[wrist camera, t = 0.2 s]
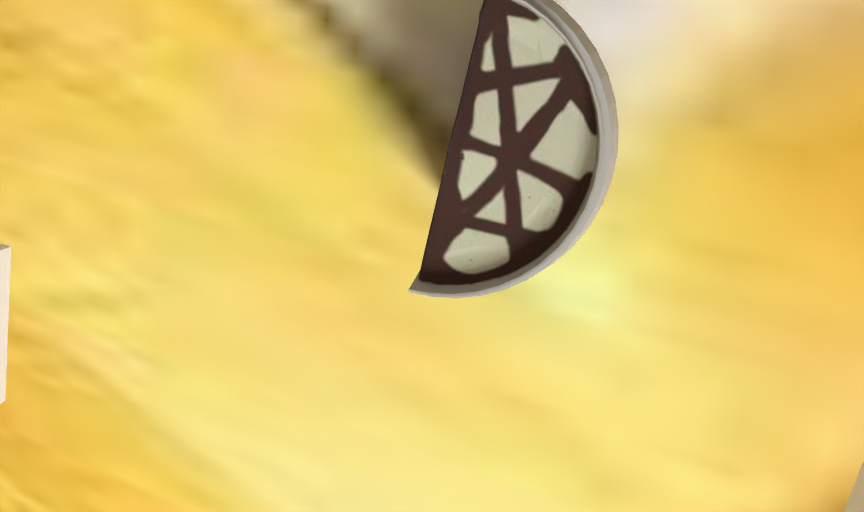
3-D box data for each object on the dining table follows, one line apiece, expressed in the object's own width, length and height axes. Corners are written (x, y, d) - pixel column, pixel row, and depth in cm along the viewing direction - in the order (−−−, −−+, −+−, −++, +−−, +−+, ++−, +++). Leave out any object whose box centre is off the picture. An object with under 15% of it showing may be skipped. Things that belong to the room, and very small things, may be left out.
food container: (572, 274, 40) (564, 350, 30) (449, 240, 41) (405, 304, 31) (648, 14, 36) (667, 8, 27) (512, -18, 37) (484, -34, 28)
